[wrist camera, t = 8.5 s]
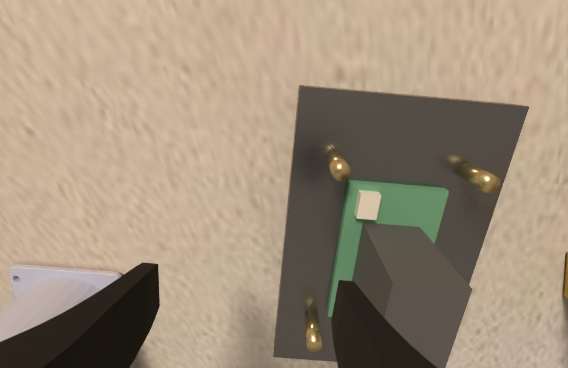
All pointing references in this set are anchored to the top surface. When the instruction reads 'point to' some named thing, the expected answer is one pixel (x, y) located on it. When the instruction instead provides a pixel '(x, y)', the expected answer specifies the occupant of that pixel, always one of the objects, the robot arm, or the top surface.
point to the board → (401, 263)
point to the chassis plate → (385, 169)
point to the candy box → (566, 279)
